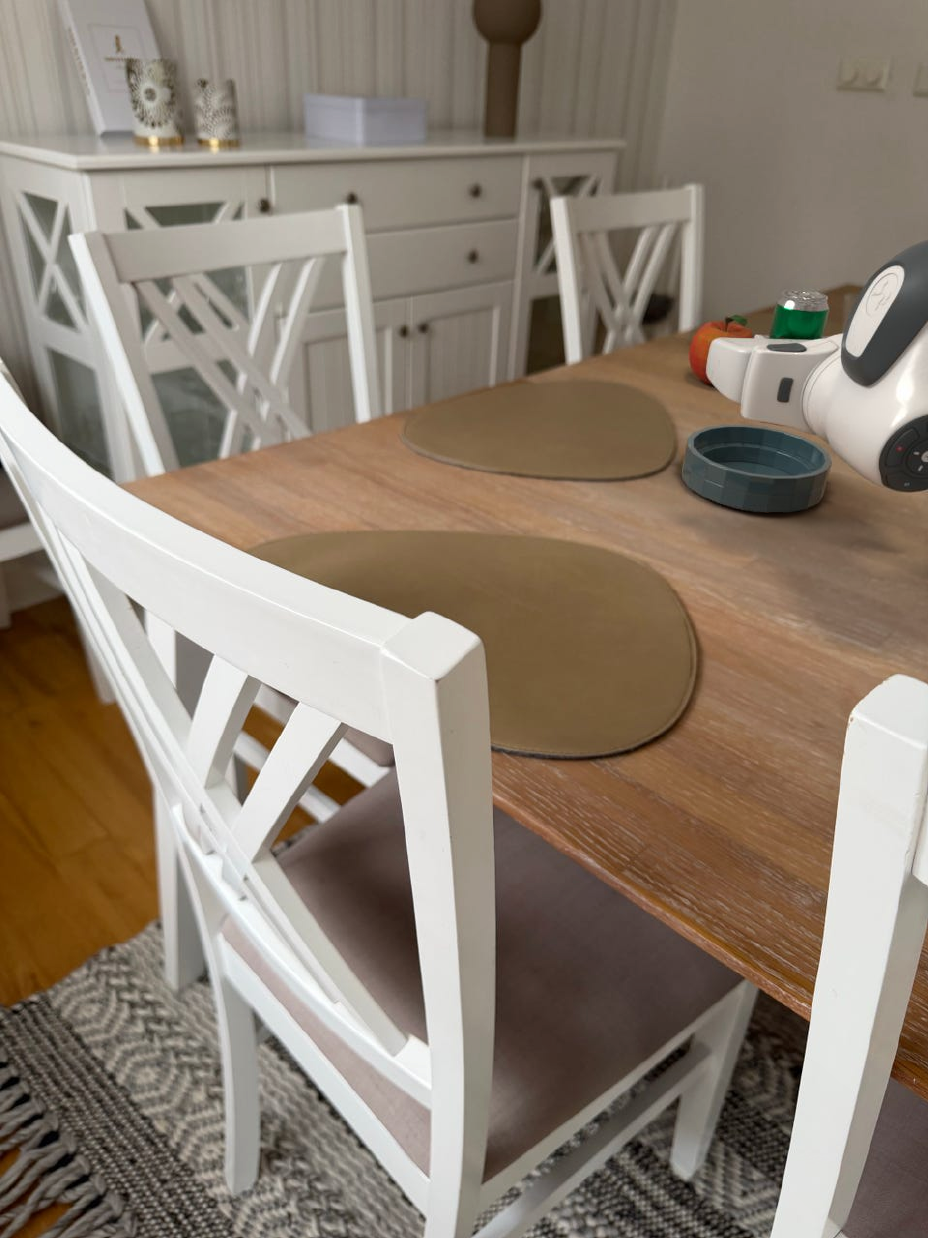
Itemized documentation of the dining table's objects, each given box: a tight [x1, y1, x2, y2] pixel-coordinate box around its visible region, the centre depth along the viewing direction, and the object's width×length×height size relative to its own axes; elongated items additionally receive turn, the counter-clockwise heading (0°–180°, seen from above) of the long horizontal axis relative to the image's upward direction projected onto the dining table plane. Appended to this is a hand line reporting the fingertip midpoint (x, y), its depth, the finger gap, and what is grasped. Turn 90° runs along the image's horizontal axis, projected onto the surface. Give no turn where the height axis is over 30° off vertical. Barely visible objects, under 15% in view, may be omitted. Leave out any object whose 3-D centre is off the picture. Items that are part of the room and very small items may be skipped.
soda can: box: [768, 289, 830, 340], centre depth 95 cm, size 5×5×12 cm
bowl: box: [681, 424, 833, 513], centre depth 105 cm, size 15×15×4 cm
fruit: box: [688, 314, 755, 386], centre depth 136 cm, size 10×10×10 cm
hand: (790, 343), depth 96 cm, fingers closed on soda can, 5 cm apart
